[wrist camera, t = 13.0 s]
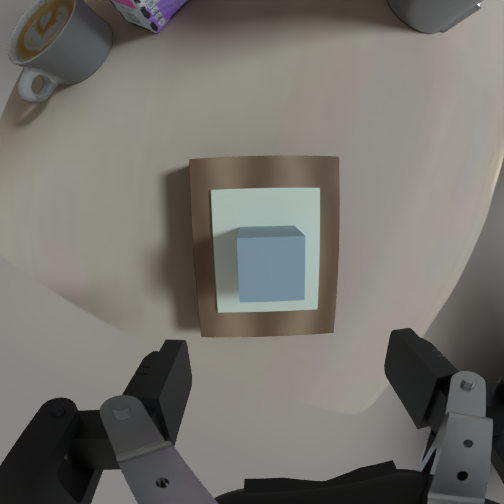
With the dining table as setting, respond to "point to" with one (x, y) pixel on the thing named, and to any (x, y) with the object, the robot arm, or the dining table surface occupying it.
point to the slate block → (271, 263)
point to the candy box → (149, 12)
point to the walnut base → (264, 214)
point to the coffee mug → (58, 45)
